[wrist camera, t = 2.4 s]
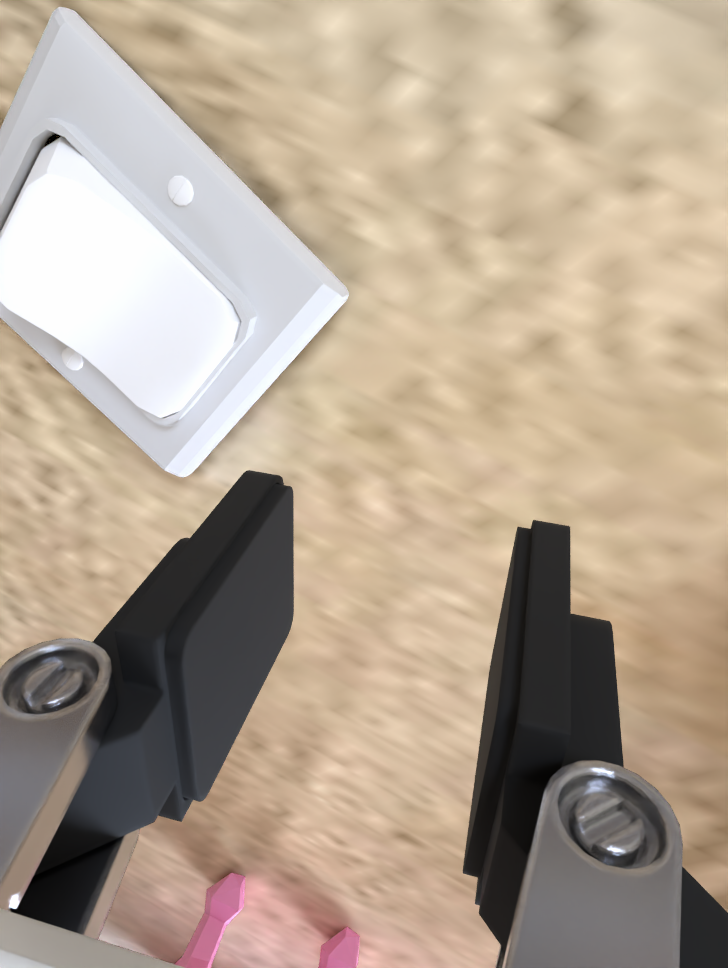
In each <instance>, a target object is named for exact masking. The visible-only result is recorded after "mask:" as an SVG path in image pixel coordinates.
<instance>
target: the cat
mask: <svg viewBox="0 0 728 968" xmlns="http://www.w3.org/2000/svg"><path fill="white" fill-rule="evenodd" d="M244 889H245V876H242V875H238V874H234V873H230V874H229V875H227V876H226V877H224V878H223V879H221V880H220V881H219V882H217V883H216V884H214V885H213V886H211V887H210V888H208V889H207V893H206V904H205V912H204V914H203V916H202V918H201V920H200V922H199V924H198V926H197V928H196V930H195V932H194V934H193V936H192V938H191V940H190V942H189V944H188V946H187V948H186V950H185V952H184V954H183V956H182V957H181V958H180V959H179V960H178V961H177V962H176V963H175V965H178V966H181V967H184V968H211V965H212V963H213V960H214V957H215V954H216V952H217V949H218V946H219V944H220V941H221V938H222V936H223V933H224V930H225V927H226V926H227V925H228V924H229V922H230V921H231V920H232V919H233V918H234V917H235V916H236V915H237V914H238V913H239V912H240V911H241V910H242V909H243V906H244ZM359 938H360V936H359V935H358V934H356V933H355V932H354V931H352V930H351V929H350V928H348V927H346V928H345V929H343V930H342V931H341V932H339V933H338V934H336V935H335V936H334V937H332V938H331V939H330V940H328V941H327V942H326V943H324V944H323V945H322V946H321V953H320V962H319V967H318V968H356V967H357V965H358V955H359Z"/></svg>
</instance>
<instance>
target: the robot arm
mask: <svg viewBox="0 0 728 968" xmlns="http://www.w3.org/2000/svg"><path fill="white" fill-rule="evenodd" d="M293 612H294V573H293V490H292V487H290V486H285V485H284V483H283V479H282V477H281V476H278V475H273V474H267V473H261V472H255V471H250V470H249V471H246V472H245V473H243V475H242V476H241V477H240V478H239V479H238V481H237V482H236V483H235V484H234V486H233V487H232V488H231V489H230V490H229V492H228V493H227V494H226V495H225V497H224V498H223V499H222V500H221V501H220V503H219V504H218V505H217V506H216V507H215V509H214V510H213V511H212V512H211V514H210V515H209V516H208V517H207V518H206V520H205V521H204V522H203V523H202V524H201V526H200V527H199V528H198V529H197V531H196V532H195V533H194V534H193V535H192V537H191V538H184V539H181V540H179V541H178V542H177V543H176V544H175V545H174V546H173V547H172V548H171V550H170V551H169V552H168V553H167V554H166V556H165V557H164V558H163V559H162V560H161V562H160V563H159V564H158V565H157V566H156V567H155V569H154V570H153V571H152V572H151V573H150V575H149V576H148V577H147V578H146V579H145V580H144V582H143V583H142V584H141V585H140V586H139V588H138V589H137V590H136V591H135V592H134V593H133V595H132V596H131V597H130V598H129V599H128V601H127V602H126V603H125V604H124V605H123V607H122V608H121V609H120V610H119V611H118V612H117V614H116V615H115V616H114V617H113V618H112V620H111V621H110V622H109V623H108V624H107V625H106V627H105V628H104V629H103V630H102V631H101V633H100V634H99V635H98V636H97V637H96V639H95V640H94V641H93V642H90V641H85V640H81V639H56V640H51V641H46V642H42V643H39V644H37V645H34V646H32V647H29V648H27V649H24V650H23V651H21V652H20V653H18V654H17V655H15V656H14V657H12V658H10V659H9V660H8V661H7V662H6V663H5V664H4V665H3V666H2V667H1V668H0V968H184V967H181V966H178V965H175V964H172V963H169V962H166V961H163V960H160V959H156V958H153V957H150V956H147V955H144V954H141V953H138V952H135V951H132V950H128V949H125V948H122V947H119V946H116V945H113V944H110V943H107V942H103V941H100V940H98V938H99V936H100V933H101V931H102V928H103V926H104V923H105V921H106V918H107V916H108V913H109V911H110V908H111V906H112V903H113V901H114V898H115V896H116V893H117V891H118V888H119V886H120V883H121V881H122V878H123V876H124V873H125V871H126V868H127V866H128V863H129V861H130V858H131V856H132V853H133V850H134V848H135V845H136V843H137V840H138V836H139V832H140V828H142V827H144V826H146V825H149V824H151V823H153V822H154V821H155V820H156V818H157V816H158V815H159V816H162V817H166V818H170V819H173V820H177V821H180V822H182V820H183V818H184V816H185V814H186V812H187V810H188V808H189V806H190V804H191V802H192V801H193V800H196V801H200V802H201V801H203V800H204V799H205V798H206V796H207V794H208V793H209V791H210V789H211V787H212V785H213V783H214V781H215V779H216V777H217V775H218V773H219V771H220V769H221V767H222V765H223V763H224V761H225V759H226V757H227V755H228V753H229V751H230V749H231V747H232V745H233V743H234V741H235V739H236V737H237V735H238V733H239V731H240V729H241V727H242V725H243V723H244V721H245V719H246V717H247V715H248V713H249V711H250V709H251V707H252V705H253V703H254V701H255V699H256V698H257V696H258V694H259V692H260V690H261V688H262V686H263V684H264V682H265V680H266V678H267V676H268V674H269V672H270V670H271V668H272V666H273V664H274V662H275V660H276V658H277V656H278V654H279V652H280V650H281V648H282V646H283V644H284V642H285V640H286V638H287V636H288V634H289V631H290V628H291V625H292V621H293ZM682 848H683V843H682V837H681V830H680V824H679V822H678V820H677V818H676V816H675V814H674V812H673V810H672V808H671V806H670V805H669V803H668V802H667V801H666V800H665V799H664V797H663V796H662V795H661V794H660V793H659V792H658V790H657V789H656V788H655V787H653V786H652V785H651V784H650V783H648V782H647V781H646V780H644V779H643V778H642V777H640V776H639V775H638V774H636V773H634V772H632V771H629V770H627V769H625V768H624V767H623V755H622V742H621V730H620V717H619V705H618V692H617V680H616V667H615V654H614V642H613V631H612V625H611V623H610V621H606V620H601V619H595V618H590V617H585V616H580V615H575V614H570V527H569V526H565V525H559V524H553V523H547V522H542V521H536V520H533V522H532V526H531V529H528V528H522V527H518V528H517V532H516V537H515V542H514V547H513V552H512V557H511V562H510V567H509V572H508V578H507V583H506V588H505V593H504V598H503V603H502V608H501V613H500V618H499V623H498V628H497V634H496V639H495V644H494V649H493V654H492V659H491V665H490V671H489V678H488V686H487V693H486V701H485V708H484V716H483V723H482V731H481V738H480V746H479V753H478V761H477V768H476V775H475V783H474V790H473V798H472V805H471V813H470V820H469V828H468V835H467V843H466V850H465V858H464V866H463V873H464V874H467V875H471V876H475V877H478V882H477V891H476V899H475V904H477V905H480V909H479V914H480V916H481V917H482V919H483V920H484V922H485V923H486V924H487V926H488V927H489V929H490V930H491V932H492V933H493V934H494V936H495V937H496V939H497V940H498V942H499V943H500V948H499V952H498V956H497V960H496V965H495V968H728V913H727V912H726V911H725V910H724V909H723V908H722V906H721V905H720V904H719V903H718V902H717V901H716V900H715V899H714V898H713V897H712V896H711V895H710V894H709V893H708V892H707V891H706V890H705V889H704V888H703V887H702V886H701V885H700V884H699V883H698V882H697V881H696V880H695V879H694V878H693V877H692V876H691V875H690V874H689V873H688V872H687V871H686V870H685V869H684V868H683V867H682Z"/></svg>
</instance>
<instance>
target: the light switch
mask: <svg viewBox="0 0 728 968" xmlns="http://www.w3.org/2000/svg"><path fill="white" fill-rule="evenodd" d="M55 133H56V134H58V135H61V136H63V137H60V138H58V139H57V140H55V141H53V142H52V143H50V144H49V145H47V146H46V147H44V145H45V143H46V141H47V139H48V138H49V137H51V136H52V135H53V134H55ZM64 137H65V138H64ZM43 147H44V148H43ZM348 295H349V292H348V290H347V288H346V286H345V285H344V284H343V283H342V282H341V281H340V280H339V279H338V278H337V277H336V276H335V275H334V274H333V273H332V272H331V271H330V270H329V269H328V268H327V267H326V266H325V265H324V264H323V263H322V262H321V261H320V260H319V259H318V258H317V257H316V256H315V255H314V254H313V253H312V252H311V251H310V250H309V249H308V248H307V247H306V246H305V245H304V244H303V243H302V242H301V241H300V240H299V239H298V238H297V237H296V236H295V235H294V234H293V233H292V232H291V230H290V229H289V228H288V227H287V226H286V225H285V224H284V223H283V222H282V221H281V220H280V219H279V218H278V217H277V216H276V215H275V214H274V213H273V212H272V211H271V210H270V209H269V208H268V207H267V206H266V205H265V204H264V203H263V202H262V201H261V200H260V199H259V198H258V197H257V196H256V195H255V194H254V193H253V192H252V191H251V190H250V189H249V188H248V187H247V186H246V185H245V184H244V183H243V182H242V181H241V180H240V179H239V178H238V177H237V176H236V175H235V173H234V172H233V171H232V170H231V169H230V168H229V167H228V166H227V165H226V164H225V163H224V162H223V161H222V160H221V159H220V158H219V157H218V156H217V155H216V154H215V153H214V152H213V151H212V150H211V149H210V148H209V147H208V146H207V145H206V144H205V143H204V142H203V141H202V140H201V139H200V138H199V137H198V136H197V135H196V134H195V133H194V132H193V131H192V130H191V129H190V128H189V127H188V126H187V125H186V124H185V123H184V122H183V121H182V120H181V119H180V118H179V117H178V115H177V114H176V113H175V112H174V111H173V110H172V109H171V108H170V107H169V106H168V105H167V104H166V103H165V102H164V101H163V100H162V99H161V98H160V97H159V96H158V95H157V94H156V93H155V92H154V91H153V90H152V89H151V88H150V87H149V86H148V85H147V84H146V83H145V82H144V81H143V80H142V79H141V78H140V77H139V76H138V75H137V74H136V73H135V72H134V71H133V70H132V69H131V68H130V67H129V66H128V65H127V64H126V63H125V62H124V61H123V60H122V59H121V57H120V56H119V55H118V54H117V53H116V52H115V51H114V50H113V49H112V48H111V47H110V46H109V45H108V44H107V43H106V42H105V41H104V40H103V39H102V38H101V37H100V36H99V35H98V34H97V33H96V32H95V31H94V30H93V29H92V28H91V27H90V26H89V25H88V24H87V23H86V22H85V21H84V20H83V19H82V18H81V17H80V16H79V15H78V14H77V13H76V12H75V11H74V10H71V9H69V8H64V7H58V8H56V9H55V10H54V11H53V13H52V15H51V17H50V20H49V22H48V24H47V26H46V28H45V31H44V33H43V35H42V37H41V40H40V42H39V44H38V46H37V48H36V51H35V53H34V55H33V57H32V60H31V62H30V64H29V66H28V68H27V71H26V73H25V75H24V77H23V80H22V82H21V84H20V86H19V88H18V91H17V93H16V95H15V97H14V100H13V102H12V104H11V106H10V108H9V111H8V113H7V115H6V117H5V120H4V122H3V124H2V126H1V128H0V318H1V319H2V320H3V321H4V322H5V323H6V324H8V325H9V326H10V327H11V328H12V329H13V330H14V331H15V332H16V333H17V334H18V335H19V336H20V337H22V338H23V339H24V340H25V341H26V342H27V343H28V344H29V345H30V346H31V347H32V348H33V349H34V350H35V351H37V352H38V353H39V354H40V355H41V356H42V357H43V358H44V359H45V360H46V361H47V362H48V363H49V364H51V365H52V366H53V367H54V368H55V369H56V370H57V371H58V372H59V373H60V374H61V375H62V376H63V377H64V378H66V379H67V380H68V381H69V382H70V383H71V384H72V385H73V386H74V387H75V388H76V389H77V390H78V391H80V392H81V393H82V394H83V395H84V396H85V397H86V398H87V399H88V400H89V401H90V402H91V403H92V404H93V405H95V406H96V407H97V408H98V409H99V410H100V411H101V412H102V413H103V414H104V415H105V416H106V417H107V418H109V419H110V420H111V421H112V422H113V423H114V424H115V425H116V426H117V427H118V428H119V429H120V430H121V431H122V432H124V433H125V434H126V435H127V436H128V437H129V438H130V439H131V440H132V441H133V442H134V443H135V444H136V445H138V446H139V447H140V448H141V449H142V450H143V451H144V452H145V453H146V454H147V455H148V456H149V457H150V458H151V459H153V460H154V461H155V462H156V463H157V464H158V465H159V466H160V467H161V468H162V469H163V470H165V471H167V472H169V473H171V474H174V475H176V476H179V477H185V476H188V475H190V474H191V473H192V472H193V471H194V470H195V469H196V468H197V467H198V466H199V465H200V464H201V463H202V461H203V460H204V459H205V458H206V457H207V456H208V455H209V454H210V452H211V451H212V450H213V449H214V448H215V447H216V446H217V445H218V444H219V442H220V441H221V440H222V439H223V438H224V437H225V436H226V435H227V433H228V432H229V431H230V430H231V429H232V428H233V427H234V426H235V425H236V423H237V422H238V421H239V420H240V419H241V418H242V417H243V416H244V414H245V413H246V412H247V411H248V410H249V409H250V408H251V407H252V405H253V404H254V403H255V402H256V401H257V400H258V399H259V398H260V397H261V395H262V394H263V393H264V392H265V391H266V390H267V389H268V388H269V386H270V385H271V384H272V383H273V382H274V381H275V380H276V379H277V378H278V376H279V375H280V374H281V373H282V372H283V371H284V370H285V369H286V367H287V366H288V365H289V364H290V363H291V362H292V361H293V360H294V359H295V357H296V356H297V355H298V354H299V353H300V352H301V351H302V350H303V348H304V347H305V346H306V345H307V344H308V343H309V342H310V341H311V340H312V338H313V337H314V336H315V335H316V334H317V333H318V332H319V331H320V329H321V328H322V327H323V326H324V325H325V324H326V323H327V322H328V320H329V319H330V318H331V317H332V316H333V315H334V314H335V313H336V312H337V310H338V309H339V308H340V307H341V306H342V305H343V304H344V303H345V301H346V300H347V298H348Z"/></svg>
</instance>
